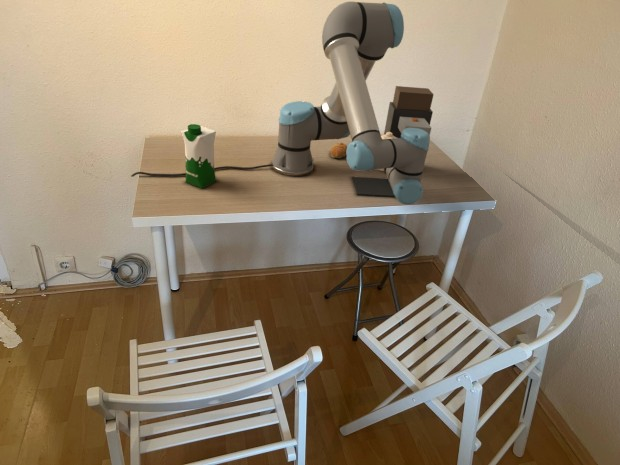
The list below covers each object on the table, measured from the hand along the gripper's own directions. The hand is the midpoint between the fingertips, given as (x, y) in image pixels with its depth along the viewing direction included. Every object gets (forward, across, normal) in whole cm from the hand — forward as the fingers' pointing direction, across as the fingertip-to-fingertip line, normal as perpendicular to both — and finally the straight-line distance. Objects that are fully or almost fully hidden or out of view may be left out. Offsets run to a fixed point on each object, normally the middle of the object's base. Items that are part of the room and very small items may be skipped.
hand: (383, 140), depth 159 cm
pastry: (+26, -10, -17) cm, 33 cm away
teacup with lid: (-5, 0, -7) cm, 8 cm away
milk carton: (-4, -60, -17) cm, 63 cm away
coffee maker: (+12, +12, -17) cm, 24 cm away
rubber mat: (-1, -1, -17) cm, 17 cm away
